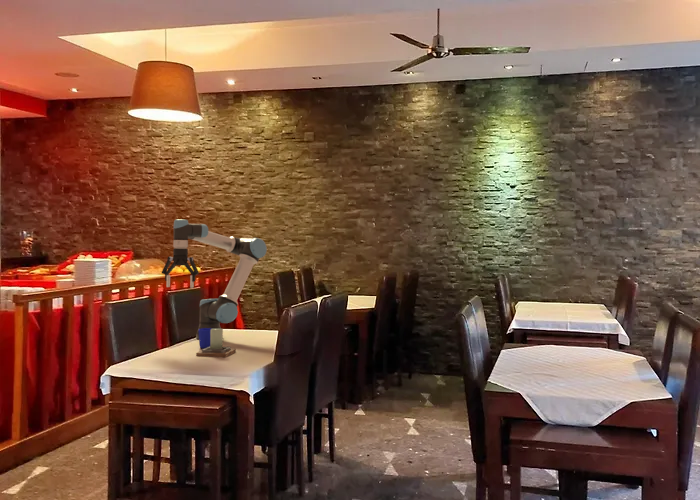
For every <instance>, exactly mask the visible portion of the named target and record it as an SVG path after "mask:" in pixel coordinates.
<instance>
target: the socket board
mask: <svg viewBox="0 0 700 500" xmlns="http://www.w3.org/2000/svg"><path fill="white" fill-rule="evenodd" d="M236 350H237V349H236V348H232V347H230V346H222V350H210V347H208V348H205V349H204V348H202V349H201V350H200V351H197V352H195V353H196V357H214V358H216V357H217V358H226V357H228V356H229V357H230V356H231V355H233V354H235V353H236V352H237V351H236Z"/></svg>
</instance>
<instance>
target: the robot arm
mask: <svg viewBox="0 0 700 500" xmlns="http://www.w3.org/2000/svg"><path fill="white" fill-rule="evenodd" d="M189 240H192V241H196V242H199V243H203V244H206V245H209V246H212V247H216V248H220V249H223V250H225V251H226V252H227V253H230V254H233V255H236V256H237V257H239V261H238V264H237V265H236V267H235V269H234V272H232V273H233V274H232V275H231V277H230V280H229V282H228V283H227V286H226V288H225V290H224V292H223V294H222V295H219V296H218V298H207V299H204V298H203V299H201V300H200V301H199V325H198V329H197V331H196V339H197V340H199V329H201V328H213V329H214V328H220V329H222V328H221V325H220V324H228V323H229V324H230V323H232V322H234V320H235V319H236V318H237V317H238V313H239V310H238V306H239V303H238V298H239V297H240V294H241V293H242V290H243V289H244V286H245V284H246V282H247V280H248V277H249V275H250V273H251V271H252V269H253V267H254V265H256V264H258V263H259V261H260V259H261V258H264V257H265V256H266V254H267V250H268V248H267V244H266V242H265V241H264V240H263V239H262V238H259V237H236V236H225V235H223V234H219V233H216V232H212V231H211V230H209V227H208V225H207V224H205V223H189V220H188V219H178V218H177V219H174V221H173V246H172V247H173V249H172V253H173V254H172V255H173V256H167V261H166V263H165V265H164V267H163V269H162V271H161V274H162V275H164V280H165V281H166V284H165V285H166V288H170V287H171V275H170V274H171V272H172V271H173V269H175V267H177V266H184V267H185V268H186V269H187V271H188V272H189V274H191V275H190V282H189V283H190V284H189V285H190V286H189V288H190V289H192V288H194V286H195V285H194V284H195V282H196V277H197V275H199V274H200V272H199V270H198V268H197V266H196V264H195V261H194V257H193V256H192V257H191V256H189V257H188V255H189V253H188V252H189V251H188V250H189V249H188V248H189ZM188 262H189V263H190V264H189V263H188ZM170 264H171V265H170Z"/></svg>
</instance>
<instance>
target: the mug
mask: <svg viewBox="0 0 700 500" xmlns="http://www.w3.org/2000/svg"><path fill="white" fill-rule="evenodd" d="M211 329H213V328H201V329H199V339H198V341H199V342H198V344H199V348H200V349H205V348H208V347H210V336H211Z"/></svg>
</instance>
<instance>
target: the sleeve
mask: <svg viewBox="0 0 700 500" xmlns="http://www.w3.org/2000/svg"><path fill="white" fill-rule="evenodd" d="M223 333H224V330H223V328H221V329H220V328H214V329H211V336H210V350H222V347H224V346H223V340H224V339H223V337H224V335H223Z"/></svg>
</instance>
